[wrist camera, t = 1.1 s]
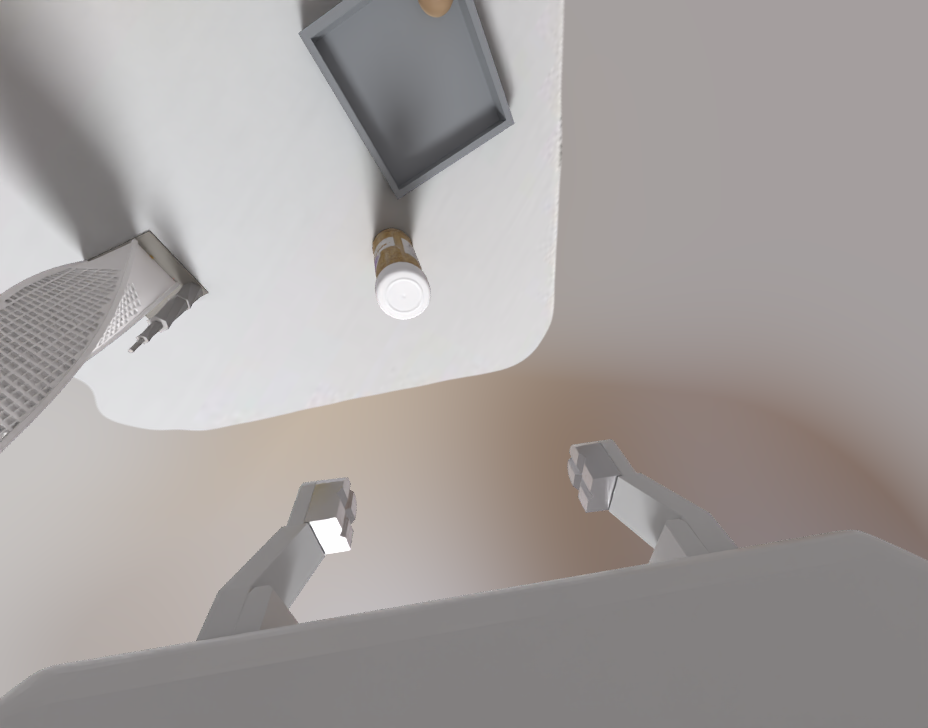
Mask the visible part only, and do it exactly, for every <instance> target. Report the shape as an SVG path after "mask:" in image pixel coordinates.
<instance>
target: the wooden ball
mask: <svg viewBox="0 0 928 728" xmlns="http://www.w3.org/2000/svg"><path fill="white" fill-rule="evenodd" d="M418 2H419V4H420V6H421V8H422V9H423V11H424V12H425V13H426V14H428V15H429V16H431V17H441V16H443V15H445V14H446V13H447V12H448V11H449V9H450V7H451V5H452V3H453V0H418Z"/></svg>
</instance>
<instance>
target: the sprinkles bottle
mask: <svg viewBox="0 0 928 728" xmlns="http://www.w3.org/2000/svg"><path fill="white" fill-rule="evenodd" d="M372 249H373V254H374V263H375V273H376V278H377V279H376V284H375V292H376V299H377V302H378V304H379V306H380V308H381V309H382V310H383V311H384V312H385V313H386V314H387V315H389V316H391V317H393V318H397V319H410V318H414V317H416V316H418V315H420V314H421V313H422V312H423V311H424V310H425V309H426V308H427V306H428V304H429V301H430V298H431V290H430V286H429V282H428V280H427V277H426V276H425V274H424V272H423V271H422V269H421V266H420V263H419V261H418V258H417V256H416V253H415V251H414V249H413V246H412V242H411V240H410V239H409V237H408V236H407V235H406V234H405V233H403V232H402V231H400V230H398V229H394V228H391V229H386V230H383V231H382V232H380V233H379V234H378V235H377V236H376V238H375V240H374V242H373V247H372Z"/></svg>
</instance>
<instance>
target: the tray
mask: <svg viewBox="0 0 928 728" xmlns="http://www.w3.org/2000/svg"><path fill="white" fill-rule="evenodd" d="M298 34H299V35H300V37H301V39H302V40H303V42H304V44H305V45H306V47H307V49H308V50H309V52H310V54H311V55H312V57H313V59H314V60H315V62H316V64H317V65H318V67H319V69H320V70H321V72H322V74H323V75H324V77H325V79H326V80H327V82H328V84H329V85H330V87H331V89H332V90H333V92H334V94H335V95H336V97H337V99H338V100H339V102H340V104H341V105H342V107H343V109H344V110H345V112H346V114H347V115H348V117H349V119H350V120H351V122H352V124H353V125H354V127H355V129H356V130H357V132H358V134H359V135H360V137H361V139H362V140H363V142H364V144H365V145H366V147H367V149H368V150H369V152H370V154H371V155H372V157H373V159H374V160H375V162H376V164H377V165H378V167H379V169H380V170H381V172H382V174H383V175H384V177H385V179H386V180H387V182H388V184H389V185H390V187H391V189H392V190H393V192H394V194H395V196H396V197H397V199H399V198H401V197H402V196H404V195H406V194H407V193H409V192H410V191H412V190H413V189H415V188H416V187H418V186H419V185H421V184H422V183H424V182H425V181H427V180H429V179H430V178H432V177H433V176H435V175H436V174H438V173H439V172H441V171H442V170H444V169H445V168H447V167H448V166H450V165H451V164H453V163H455V162H456V161H458V160H459V159H461V158H462V157H464V156H465V155H467V154H468V153H470V152H471V151H473V150H474V149H476V148H478V147H479V146H481V145H482V144H484V143H485V142H487V141H488V140H490V139H491V138H493V137H494V136H496V135H497V134H499V133H501V132H502V131H504V130H505V129H507V128H508V127H510V126H511V125H513V124H514V121H513V118H512V115H511V112H510V109H509V106H508V103H507V100H506V97H505V94H504V91H503V88H502V85H501V82H500V79H499V76H498V73H497V70H496V67H495V64H494V61H493V58H492V55H491V52H490V49H489V46H488V43H487V40H486V37H485V34H484V31H483V28H482V25H481V22H480V19H479V16H478V13H477V10H476V7H475V4H474V1H473V0H453V3H452V5H451V7H450V9H449V11H448V12H447V13H446V14H445V15H443V16H441V17H431V16H429V15H428V14H426V13H425V12H424V11H423V9H422V8H421V6H420V4H419V2H418V0H343V1H342V2H340V3H339V4H337V5H336V6H335V7H333V8H332V9H331V10H329V11H328V12H327V13H325V14H324V15H323V16H321V17H320V18H318V19H317V20H316V21H314V22H313V23H312V24H310V25H309V26H308V27H306V28H305V29H303V30H302V31H301V32H299V33H298Z"/></svg>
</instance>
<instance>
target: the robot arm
mask: <svg viewBox="0 0 928 728" xmlns="http://www.w3.org/2000/svg"><path fill="white" fill-rule="evenodd" d="M569 453H570V455H571V458H570V459H569V460H568V467H567V468H568V474H569V478H570V481H571V482H572V485H573V487H575V488H576V489H578V490H579V494H578V498H579V500H580V502H581V504H582V506H583V508H584V510H585V512H586V513H587V512H595V511H603V510H609V512H611V513H612V514H613V515H614V516H616V517H617V518H618V519H619V520H620V521H621V522H623V523H624V524H625V525H626V526H627V527H629V528H630V529H631V530H632V531H633V532H635V533H636V534H637V535H638V536H639V537H641V538H642V539H643V540H644V541H645V542H647V543H648V544H649V545H650V546H651V547H653V548H654V551H653V554H652V556H651V559H650V561H649V563H648V564H644V565H638V566H633V567H626V568H620V569H615V570H609V571H603V572H597V573H591V574H586V575H580V576H574V577H568V578H562V579H556V580H551V581H545V582H539V583H533V584H527V585H521V586H515V587H509V588H504V589H497V590H492V591H486V592H480V593H475V594H468V595H463V596H457V597H452V598H445V599H439V600H434V601H428V602H422V603H416V604H411V605H404V606H399V607H393V608H387V609H381V610H375V611H370V612H364V613H358V614H352V615H346V616H340V617H335V618H329V619H323V620H317V621H312V622H305V623H300V624H299V623H298V622H297V620H296V619H295V618H294V616H293V615H292V614H291V612H290V611H289V610H288V609H289V608H290V606H291V605H292V603H293V602H294V600H295V599H296V597H297V596H298V595H299V593H300V592H301V590H302V589H303V587H304V586H305V584H306V583H307V582H308V580H309V579H310V577H311V576H312V574H313V573H314V571H315V570H316V569H317V567H318V565H319V564H320V563H321V561H322V560H323V558H324V557H325V554H330V553H335V552H341V551H346V550H350V549H351V543H352V536H353V529H352V526H351V524H352V522H353V521H354V520H355V518H356V498H355V494H354V492H353V491H351V490H350V485H351V483H350V481H349V479H348V478H338V479H330V480H321V481H314V482H305V483H303V484H302V485H301V486H300V488H299V491H298V494H297V497H296V500H295V503H294V506H293V509H292V511H291V514H290V517H289V520H288V523H287V526H284V527H281V528H280V529H279V530H278V532H276V533H275V534H274V535H273V536H272V537H271V539H269V541H268V542H267V543H266V544H265V545H264V546H263V547H262V548H261V549H260V550H259V551H258V552H257V553H256V554H255V555H254V556H253V557H252V558H251V559H250V560H249V561H248V562H247V563H246V564H245V565H244V566H243V567H242V568H241V569H240V570H239V571H238V572H237V573H236V574H235V575H234V576H233V577H232V578H231V579H230V580H229V581H228V582H227V583H226V584H225V585H224V586H223V587H222V588H221V589H220V590H219V592H218V593H217V595H216V598H215V600H214V602H213V604H212V607H211V609H210V611H209V613H208V615H207V618H206V620H205V622H204V625H203V627H202V629H201V631H200V633H199V635H198V638H197V640H196V641H195V642H188V643H183V644H177V645H171V646H165V647H159V648H153V649H147V650H141V651H135V652H130V653H124V654H118V655H112V656H106V657H101V658H94V659H88V660H82V661H76V662H70V663H64V664H59V665H54V666H50V667H47V668H44V669H42V670H39V671H37V672H36V673H34V674H33V675H31V676H29V677H28V678H26V679H25V680H24V681H22V682H21V683H19V684H18V685H17V686H15V687H14V688H12V689H11V690H10V691H9V692H7V693H6V694H5V695H3V696H2V697H1V698H0V728H928V561H927V560H925V559H923V558H921V557H919V556H917V555H915V554H913V553H910V552H908V551H906V550H904V549H902V548H900V547H897V546H895V545H893V544H891V543H889V542H887V541H884V540H882V539H880V538H877V537H875V536H872V535H870V534H867V533H865V532H862V531H858V530H842V531H836V532H830V533H824V534H819V535H813V536H807V537H802V538H795V539H789V540H783V541H778V542H772V543H766V544H761V545H755V546H749V547H743V548H738V547H737V546H736V544H735V543H734V542H733V541H732V540H731V538H730V537H729V536H728V535H727V533H726V532H725V531H724V530H723V529H722V527H721V526H720V525H719V524H718V522H717V521H716V520H715V519H714V518H713V516H712V515H711V514H710V513H709V512H707V511H706V510H704V509H702V508H700V507H699V506H697V505H695V504H694V503H692V502H690V501H688V500H687V499H685V498H683V497H681V496H680V495H678V494H676V493H675V492H673V491H671V490H669V489H668V488H666V487H664V486H662V485H661V484H659V483H657V482H655V481H654V480H652V479H650V478H649V477H647V476H645V475H643V474H642V473H636V472H635V470H634V469H633V467H632V466H631V464H630V463H629V462H628V460H627V459H626V457H625V456H624V455H623V453H622V452H621V451H620V449H619V448H618V446H617V445H616V443H615V442H614V441H613V440H611V439H610V440H603V441H598V442H597V441H596V442H589V443H582V444H576V445H572V446H571V447H570V452H569Z"/></svg>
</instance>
